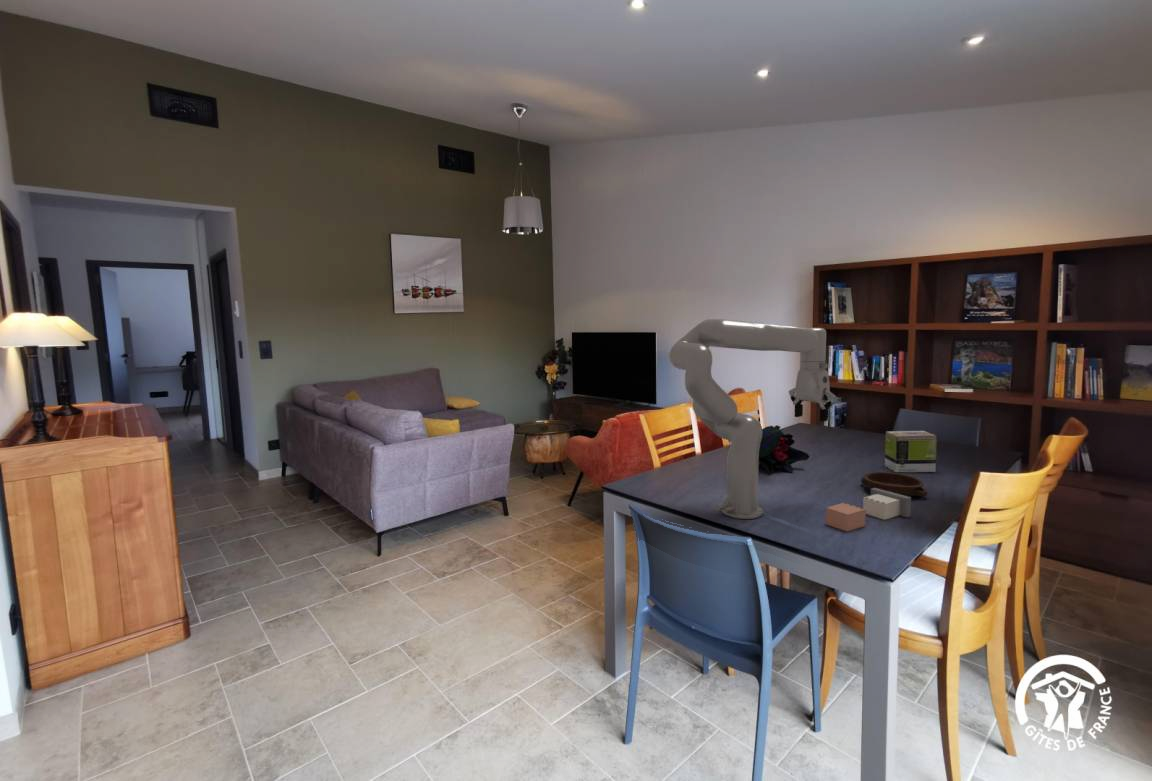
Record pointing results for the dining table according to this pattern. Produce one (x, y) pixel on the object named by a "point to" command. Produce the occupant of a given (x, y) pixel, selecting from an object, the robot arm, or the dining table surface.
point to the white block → (886, 504)
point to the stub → (845, 516)
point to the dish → (894, 483)
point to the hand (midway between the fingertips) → (810, 418)
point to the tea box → (910, 451)
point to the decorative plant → (778, 450)
